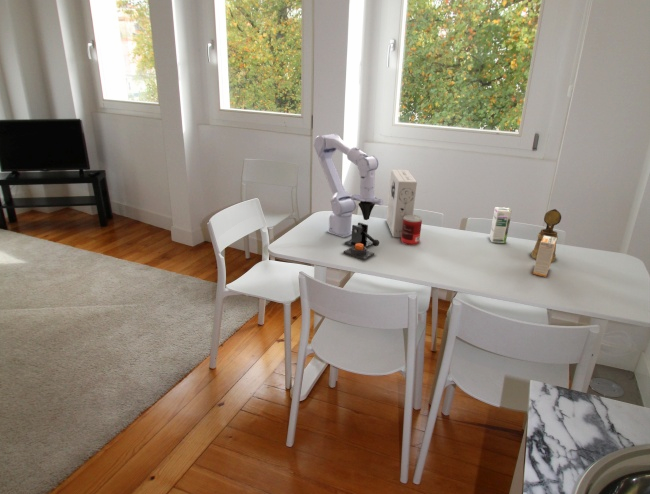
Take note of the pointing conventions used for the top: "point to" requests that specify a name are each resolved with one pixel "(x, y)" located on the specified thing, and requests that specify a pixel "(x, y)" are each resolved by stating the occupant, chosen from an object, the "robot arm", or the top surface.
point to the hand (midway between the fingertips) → (366, 219)
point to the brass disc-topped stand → (548, 231)
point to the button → (359, 246)
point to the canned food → (411, 229)
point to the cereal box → (400, 199)
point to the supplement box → (544, 255)
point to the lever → (369, 237)
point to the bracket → (359, 236)
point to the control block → (359, 253)
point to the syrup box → (500, 225)
